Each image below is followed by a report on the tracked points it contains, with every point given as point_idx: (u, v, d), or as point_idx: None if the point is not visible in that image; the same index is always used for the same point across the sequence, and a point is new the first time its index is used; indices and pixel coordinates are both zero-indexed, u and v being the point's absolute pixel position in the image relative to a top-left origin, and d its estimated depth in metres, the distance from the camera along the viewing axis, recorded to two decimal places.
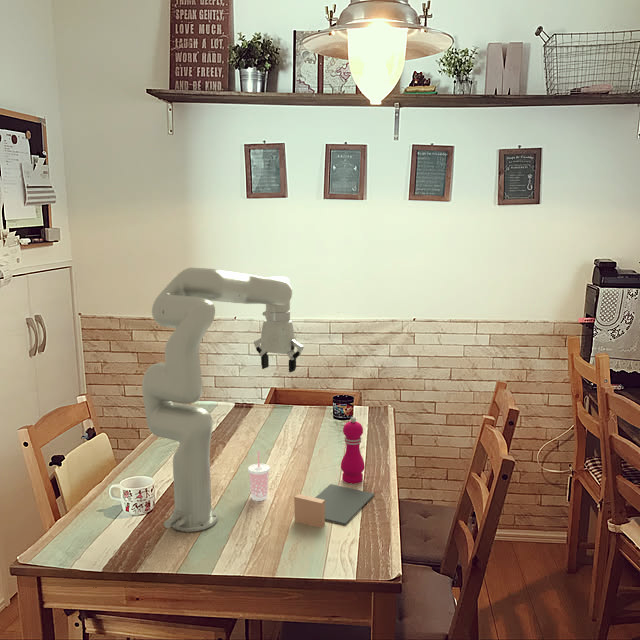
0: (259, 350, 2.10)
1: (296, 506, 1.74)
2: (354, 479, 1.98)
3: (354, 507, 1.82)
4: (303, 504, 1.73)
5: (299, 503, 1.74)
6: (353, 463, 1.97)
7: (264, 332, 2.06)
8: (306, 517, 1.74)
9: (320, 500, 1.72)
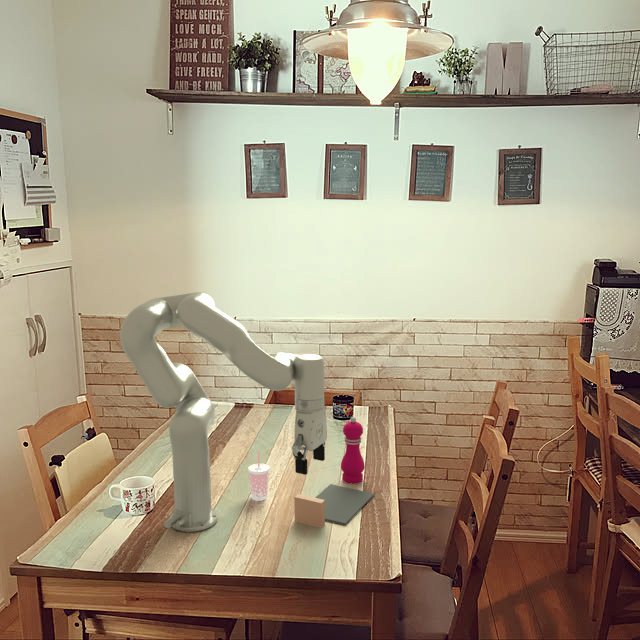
0: (300, 454, 1.65)
1: (296, 506, 1.74)
2: (354, 479, 1.98)
3: (354, 507, 1.82)
4: (303, 504, 1.73)
5: (299, 503, 1.74)
6: (353, 463, 1.97)
7: (312, 427, 1.65)
8: (306, 517, 1.73)
9: (320, 500, 1.72)
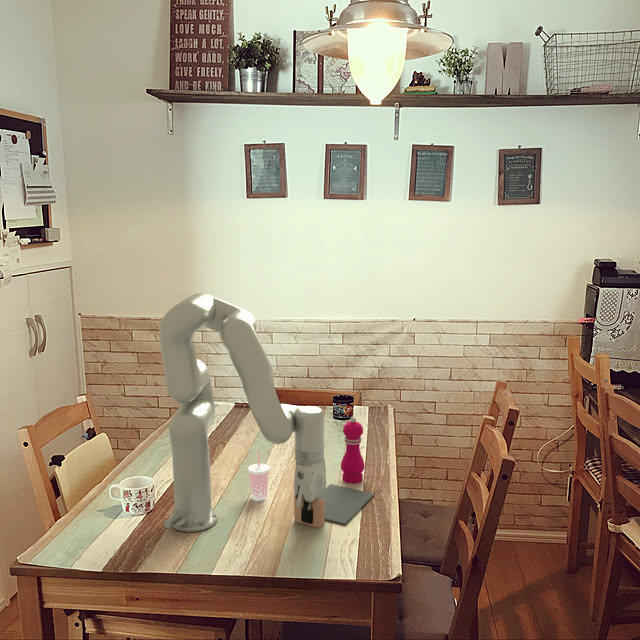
0: (306, 505, 1.71)
1: (296, 506, 1.74)
2: (354, 479, 1.98)
3: (354, 507, 1.82)
4: None
5: None
6: (353, 463, 1.97)
7: (312, 479, 1.68)
8: None
9: (320, 500, 1.72)
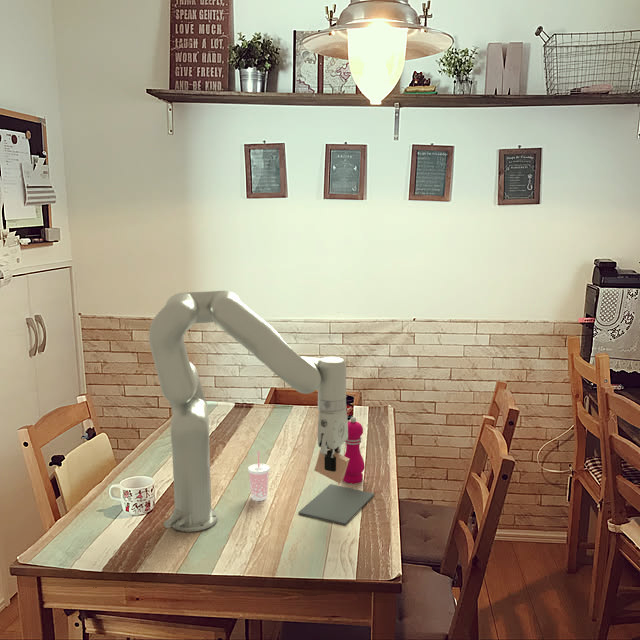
0: (330, 452, 1.76)
1: (320, 457, 1.79)
2: (354, 479, 1.98)
3: (354, 507, 1.82)
4: None
5: None
6: (353, 463, 1.97)
7: (335, 426, 1.73)
8: None
9: (345, 458, 1.77)
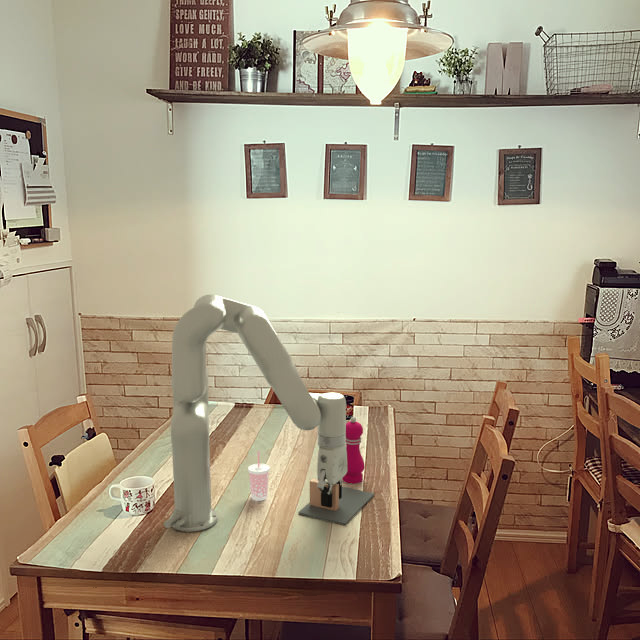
0: (326, 489, 1.76)
1: (311, 490, 1.83)
2: (354, 479, 1.98)
3: (354, 507, 1.82)
4: (318, 488, 1.81)
5: (314, 487, 1.82)
6: (353, 463, 1.97)
7: (335, 462, 1.75)
8: None
9: (334, 484, 1.80)
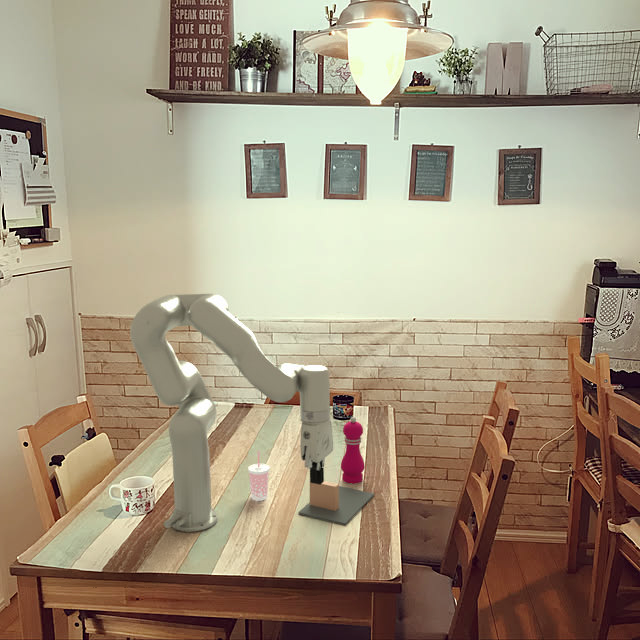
0: (315, 465, 1.67)
1: (311, 490, 1.83)
2: (354, 479, 1.98)
3: (354, 507, 1.82)
4: (318, 488, 1.81)
5: (314, 487, 1.82)
6: (353, 463, 1.97)
7: (318, 438, 1.64)
8: (321, 500, 1.82)
9: (334, 484, 1.80)
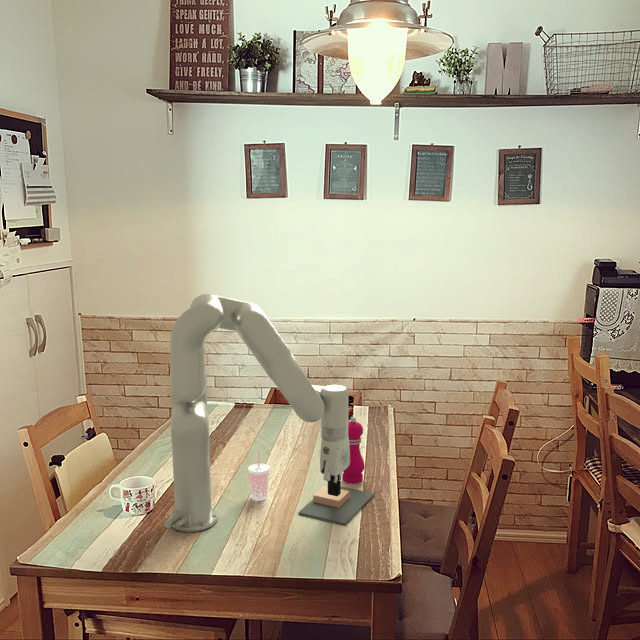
0: (333, 478, 1.79)
1: (322, 489, 1.89)
2: (354, 479, 1.98)
3: (354, 507, 1.82)
4: None
5: (326, 488, 1.89)
6: (353, 463, 1.97)
7: (337, 454, 1.76)
8: (328, 494, 1.85)
9: None
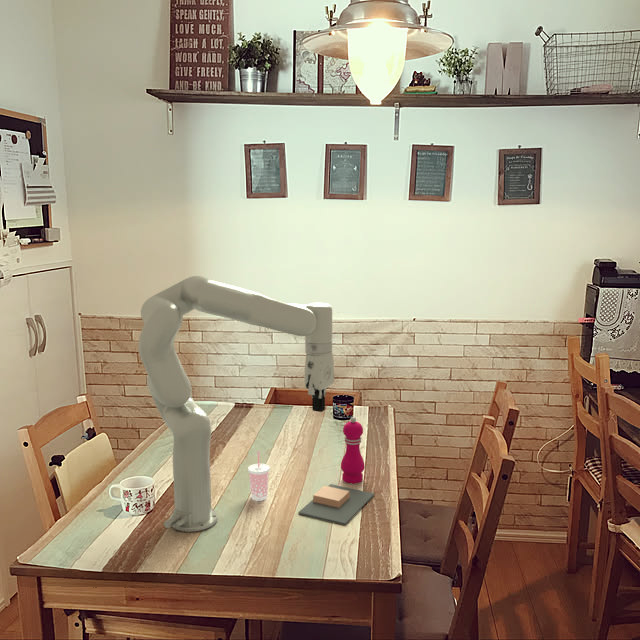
0: (317, 393, 1.84)
1: (322, 489, 1.89)
2: (354, 479, 1.98)
3: (354, 507, 1.82)
4: (330, 489, 1.89)
5: (326, 488, 1.89)
6: (353, 463, 1.97)
7: (321, 368, 1.81)
8: (328, 494, 1.85)
9: None
